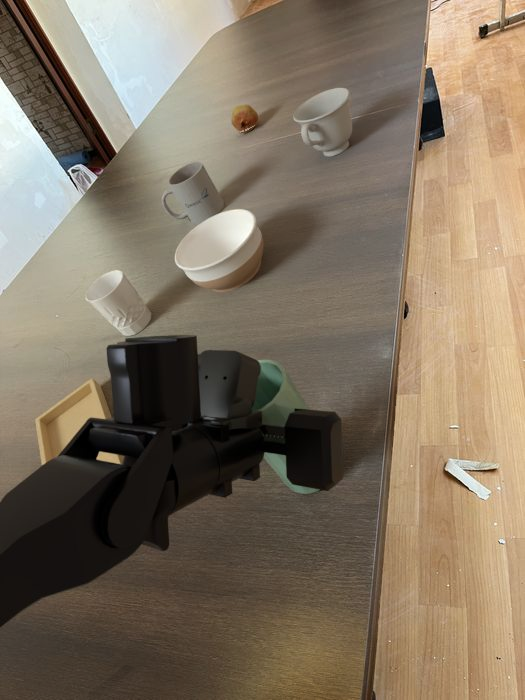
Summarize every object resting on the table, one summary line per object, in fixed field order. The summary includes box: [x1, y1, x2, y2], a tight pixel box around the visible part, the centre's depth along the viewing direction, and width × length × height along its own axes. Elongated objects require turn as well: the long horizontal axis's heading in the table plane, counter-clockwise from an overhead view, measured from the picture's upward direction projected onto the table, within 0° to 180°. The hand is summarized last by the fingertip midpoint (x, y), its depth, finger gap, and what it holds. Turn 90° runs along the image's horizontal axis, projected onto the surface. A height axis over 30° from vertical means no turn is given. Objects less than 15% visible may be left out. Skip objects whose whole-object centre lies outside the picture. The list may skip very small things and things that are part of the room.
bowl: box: [174, 208, 265, 293], centre depth 88 cm, size 16×16×8 cm
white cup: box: [84, 269, 152, 337], centre depth 90 cm, size 8×8×10 cm
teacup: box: [292, 87, 353, 158], centre depth 101 cm, size 12×15×10 cm
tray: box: [34, 377, 124, 466], centre depth 72 cm, size 30×12×2 cm, turn 29°
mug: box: [161, 160, 225, 225], centre depth 109 cm, size 12×9×10 cm
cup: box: [252, 359, 320, 495], centre depth 52 cm, size 7×7×15 cm
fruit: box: [230, 104, 259, 134], centre depth 132 cm, size 7×7×10 cm
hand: (288, 420), depth 52 cm, fingers open, 8 cm apart
